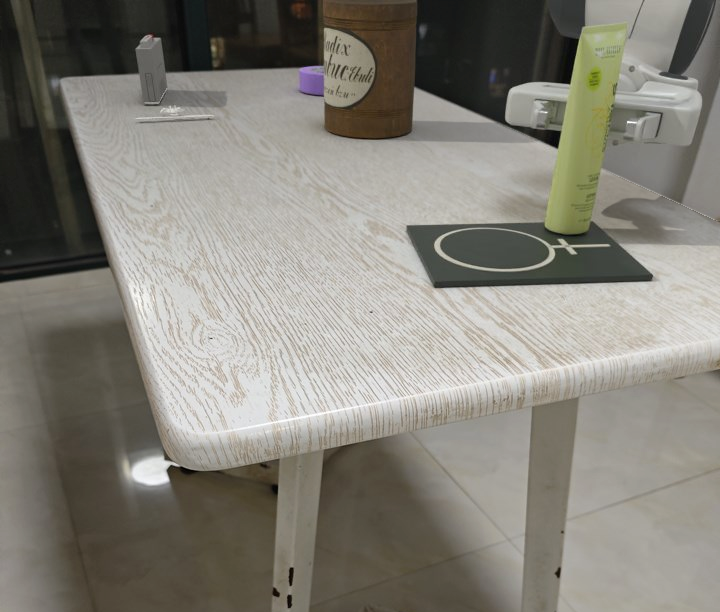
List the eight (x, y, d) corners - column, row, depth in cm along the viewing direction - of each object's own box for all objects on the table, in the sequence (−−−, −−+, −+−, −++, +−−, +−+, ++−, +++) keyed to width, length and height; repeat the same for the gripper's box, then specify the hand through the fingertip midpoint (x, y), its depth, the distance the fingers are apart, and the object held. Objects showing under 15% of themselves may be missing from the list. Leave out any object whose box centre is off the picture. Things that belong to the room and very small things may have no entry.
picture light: (133, 123, 119) (131, 109, 118) (131, 117, 122) (129, 104, 121) (216, 119, 123) (214, 105, 121) (212, 114, 126) (211, 100, 125)
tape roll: (326, 83, 151) (326, 63, 149) (368, 91, 146) (368, 70, 143) (287, 90, 144) (287, 69, 142) (329, 99, 139) (329, 76, 136)
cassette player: (154, 89, 143) (145, 31, 137) (167, 89, 143) (160, 31, 137) (144, 105, 131) (134, 42, 124) (158, 105, 131) (149, 42, 125)
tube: (592, 239, 77) (638, 27, 65) (544, 236, 77) (582, 25, 65) (585, 223, 81) (628, 21, 69) (541, 220, 82) (575, 20, 70)
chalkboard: (591, 226, 82) (593, 219, 82) (651, 280, 70) (654, 272, 69) (406, 230, 80) (406, 223, 79) (434, 287, 67) (434, 279, 67)
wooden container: (308, 124, 120) (304, -34, 107) (379, 116, 127) (384, -35, 113) (355, 143, 111) (357, -29, 97) (429, 133, 117) (441, -30, 104)
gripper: (529, 63, 83) (491, 80, 73) (714, 80, 76) (699, 101, 66) (520, 122, 87) (483, 146, 77) (696, 143, 80) (678, 172, 70)
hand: (584, 125), depth 71 cm, fingers open, 8 cm apart
